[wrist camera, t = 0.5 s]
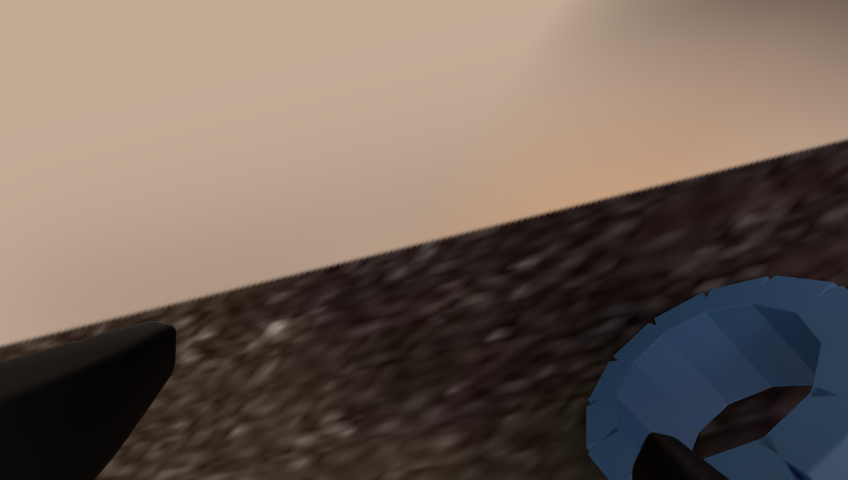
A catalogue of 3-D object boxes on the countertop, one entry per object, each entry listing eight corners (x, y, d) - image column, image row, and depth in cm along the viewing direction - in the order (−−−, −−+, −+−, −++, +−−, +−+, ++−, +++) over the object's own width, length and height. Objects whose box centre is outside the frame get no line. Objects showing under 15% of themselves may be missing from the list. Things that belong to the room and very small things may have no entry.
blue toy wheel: (614, 477, 23) (809, 708, 12) (553, 412, 23) (692, 583, 12) (766, 333, 23) (1097, 427, 12) (706, 266, 23) (987, 299, 12)
